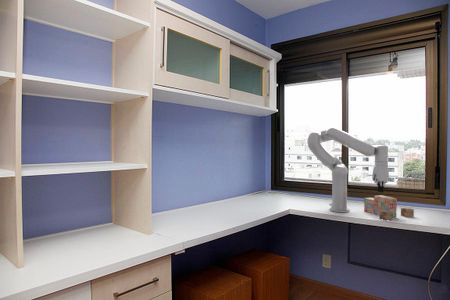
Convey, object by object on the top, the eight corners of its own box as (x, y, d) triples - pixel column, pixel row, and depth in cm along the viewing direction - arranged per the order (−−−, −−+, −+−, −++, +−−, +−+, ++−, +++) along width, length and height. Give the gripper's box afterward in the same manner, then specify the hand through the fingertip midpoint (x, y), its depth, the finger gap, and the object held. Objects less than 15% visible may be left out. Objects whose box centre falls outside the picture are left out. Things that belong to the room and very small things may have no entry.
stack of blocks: (363, 211, 203) (363, 193, 203) (371, 210, 205) (371, 193, 205) (388, 218, 183) (388, 198, 183) (396, 217, 184) (396, 198, 184)
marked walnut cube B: (400, 215, 190) (400, 207, 190) (407, 215, 191) (408, 207, 191) (406, 217, 185) (406, 209, 185) (413, 217, 186) (413, 209, 186)
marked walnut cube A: (379, 219, 180) (379, 210, 180) (384, 218, 183) (384, 209, 183) (387, 220, 176) (387, 212, 176) (392, 219, 179) (392, 211, 179)
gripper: (384, 163, 199) (384, 190, 200) (367, 163, 194) (367, 191, 194) (394, 164, 192) (394, 192, 193) (377, 164, 187) (377, 193, 187)
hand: (380, 192), depth 193 cm, fingers closed
